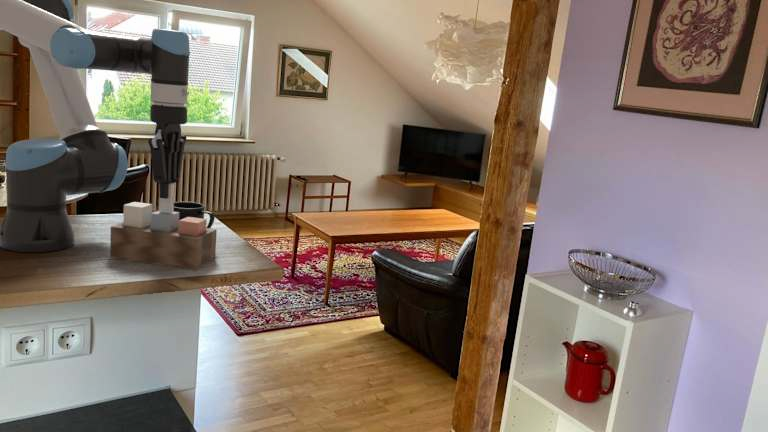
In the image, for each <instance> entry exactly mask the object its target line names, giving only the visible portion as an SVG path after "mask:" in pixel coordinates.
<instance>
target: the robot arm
mask: <svg viewBox="0 0 768 432" xmlns="http://www.w3.org/2000/svg"><path fill="white" fill-rule="evenodd" d="M73 8H74V7H73V6H72V2H71V1H70V0H0V31H5V32H7V33H10V34H11V35H13V36H15V37H17V40H18V42H19V44H20V45H21V46H23V47H26V48H28V50H29V53H30V56H31V59H32V62H33V64H34V68H35V69H36V70H35V71H36V72H37V75H38V77H39V81H40V84H41V86H42V89H43V92H44V94H45V97H46V100H47V102H48V106H49V108H50V112H51V114H52V115H51V116H52V117H53V119H54V123H55V126H56V129H57V131H58V134H59V138H50V137H48V138H47V137H45V138H32V139H31V138H29V139H22V140H19V141H16V142H13V143H11V144H10V145H9V146H8V148H7V149H6V156H5V162H4V166H5V171H6V173H5V174H6V177H5V178H6V179H5V181H6V212H5V216H4V218H3V222H2V224H1V227H0V248H2V249H4V250H7V251H12V252H18V253H19V252H20V253H45V252H52V251H60V250H64V249H68V248H70V247H72V246H73V245H75V235H76V234H75V231H74V230H73V227H72V222H71V221H70V218H69V214H68V211H67V196H74V195H76V196H77V195H85V194H94V193H98V194H102V193H105V192H107V191H113V190H116V189H118V188H119V187H120V186H121V185H122V184H123V182H124V181H125V178H126V175H127V173H128V157H127V154H126V153H127V152H126V151H125V149H124V148H123V147H122V146H121V145H120V144H118V143H116V142H111V140H110V138H109V135H108V133H107V131H106V130H104V129H102V128H100V127H99V126H98V124H97V121H96V119H95V117H94V113H93V110H92V107H91V106H90V102H89V100H88V97H87V93H86V92H85V88H84V86H83V83H82V80H81V78H80V75H79V71H78V69H79V70H81V69H83V70H84V69H85V70H101V71H112V72H124V73H132V74H135V73H137V74H148V75H151V78H150V102H152V104H151V105H150V113H149V116H150V118H149V119H150V121H151V122H152V123H155V124H156V125H155V131H154V134H155V136H154V137H153V138H152V137H149V138H148V140H147V142H148V145H149V148H150V154H151V165H152V173H153V181H154V183H156V184H157V183H158V184H159V188H158V190H159V199H158V200H159V201H158V211H159V212H165V213H172V212H174V202H175V184H178V183H180V177H181V172H182V166H183V165H182V164H183V158H184V151H185V145H186V141H187V136H186V135H182V128H181V125H185V124H187V123H188V108H187V107H186V106H185V105H187V104H188V95H190V91H189V89H188V88H189V70H190V69H189V65H190V55H191V52H190V36H189V35H188V33H186V32H185V31H181V30H175V29H173V30H172V29H165V28H154V29H153V30H152V32H151V37H150V38H145V37H144V38H143V37H136V36H135V37H134V36H130V35H129V36H128V35H121V34H114V33H107V32H105V33H104V32H99V31H94V30H89V29H87V28H84V27H83V26H82V27H81V26H79V25H77V24H75V22H74V21H75V20H74V19H73V17H75V16H74V15H75V14H74V9H73Z"/></svg>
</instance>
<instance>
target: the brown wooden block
mask: <svg viewBox="0 0 768 432" xmlns="http://www.w3.org/2000/svg"><path fill="white" fill-rule="evenodd" d="M216 247H217V228H212V227H211V228H206V233H204V234H202V235H200V236H195V235H188V234H181V233H179V228H178V229H176V230H174V231H172V232H167V231H159V230H152V229H151V225H149V226H147V227H144V228H138V227H131V226H124V225H123V221H122V222H120V223H118V224H115V225H111V226H110V248H109V249H110V251H109V252H110V253H109V254H110V258H111V259H117V260H123V261H124V260H125V261H132V262H139V263H144V264H149V265H150V264H151V265H158V266H165V267H169V268H171V267H172V268H179V269H185V270H191V271H197V270H199V269H201V268H203V267H204V266H206V265H207V264H210V263H211V262H212V261H214V260H215V259H216V250H217V249H216Z"/></svg>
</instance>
